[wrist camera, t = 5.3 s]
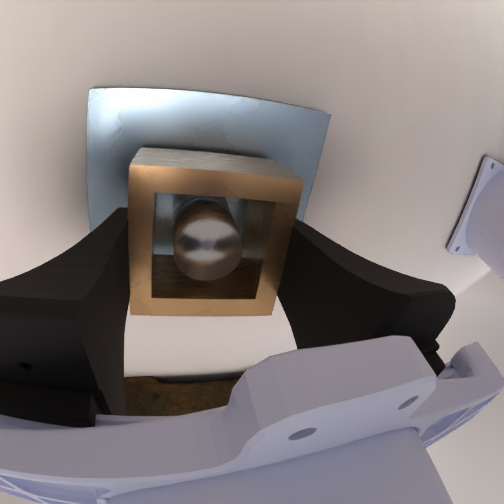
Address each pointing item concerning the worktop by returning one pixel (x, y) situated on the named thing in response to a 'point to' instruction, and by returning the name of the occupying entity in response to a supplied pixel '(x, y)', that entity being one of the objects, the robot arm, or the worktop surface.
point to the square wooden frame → (253, 238)
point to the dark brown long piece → (173, 396)
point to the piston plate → (194, 139)
